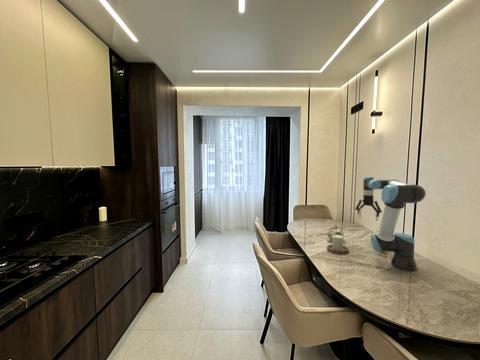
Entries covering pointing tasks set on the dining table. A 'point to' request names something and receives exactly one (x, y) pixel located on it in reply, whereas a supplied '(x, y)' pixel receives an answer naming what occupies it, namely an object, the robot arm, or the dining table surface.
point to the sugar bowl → (334, 232)
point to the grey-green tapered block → (337, 242)
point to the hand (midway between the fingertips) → (367, 219)
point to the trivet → (345, 251)
